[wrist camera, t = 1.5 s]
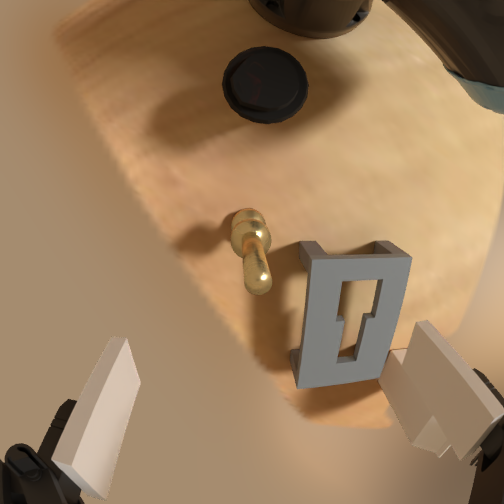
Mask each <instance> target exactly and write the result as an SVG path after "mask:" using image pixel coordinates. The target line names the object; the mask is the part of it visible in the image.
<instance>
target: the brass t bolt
mask: <svg viewBox="0 0 504 504" xmlns="http://www.w3.org/2000/svg"><path fill="white" fill-rule="evenodd" d="M231 230H232V233H231V246H232V249H233V251H234V252H235V253H236V254H237V255H238V256H239V257H241V258H243V269H244V283H245V287H246V289H247V291H248V292H250V293H251V294H254V295H262V294H264V293H266V292H268V291H269V290H270V288H271V286H272V278H271V274H270V270H269V267H268V263H267V260H266V256H265V254H266V253H267V251H268V250H269V248H270V246H271V235H270V232H269V230H268V228H267V226H266V223H265V220H264V218H263V216H262V214H261V213H260V212H258V211H257V210H255V209H251V208H246V209H242V210H240V211H238V212H237V213H236V214H235V215H234V217H233V219H232V223H231Z"/></svg>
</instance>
